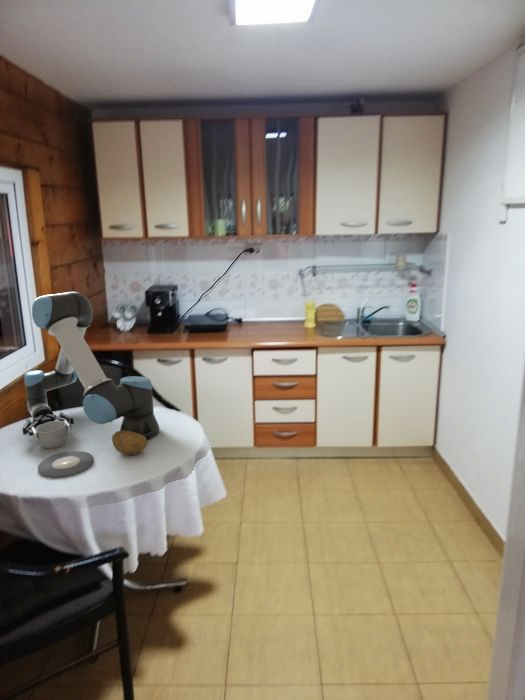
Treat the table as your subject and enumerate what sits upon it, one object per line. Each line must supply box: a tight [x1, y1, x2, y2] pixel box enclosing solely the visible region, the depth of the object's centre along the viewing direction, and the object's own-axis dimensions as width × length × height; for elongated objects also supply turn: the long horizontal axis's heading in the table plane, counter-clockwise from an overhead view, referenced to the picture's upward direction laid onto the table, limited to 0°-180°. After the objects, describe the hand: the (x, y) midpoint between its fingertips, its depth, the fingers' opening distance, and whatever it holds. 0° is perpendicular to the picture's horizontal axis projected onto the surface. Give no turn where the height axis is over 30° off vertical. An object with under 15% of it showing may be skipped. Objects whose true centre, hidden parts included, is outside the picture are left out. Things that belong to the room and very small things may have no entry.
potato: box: [111, 430, 148, 456], centre depth 178 cm, size 10×14×8 cm
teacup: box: [35, 419, 68, 450], centre depth 187 cm, size 14×11×8 cm
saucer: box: [37, 450, 95, 479], centre depth 171 cm, size 18×18×1 cm
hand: (52, 432), depth 183 cm, fingers open, 11 cm apart
